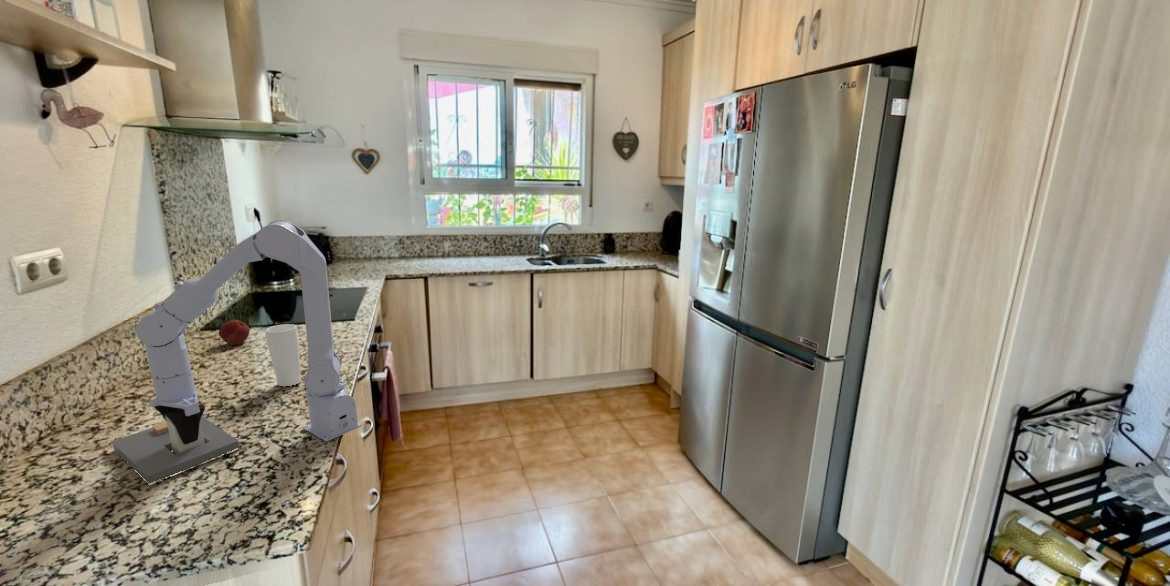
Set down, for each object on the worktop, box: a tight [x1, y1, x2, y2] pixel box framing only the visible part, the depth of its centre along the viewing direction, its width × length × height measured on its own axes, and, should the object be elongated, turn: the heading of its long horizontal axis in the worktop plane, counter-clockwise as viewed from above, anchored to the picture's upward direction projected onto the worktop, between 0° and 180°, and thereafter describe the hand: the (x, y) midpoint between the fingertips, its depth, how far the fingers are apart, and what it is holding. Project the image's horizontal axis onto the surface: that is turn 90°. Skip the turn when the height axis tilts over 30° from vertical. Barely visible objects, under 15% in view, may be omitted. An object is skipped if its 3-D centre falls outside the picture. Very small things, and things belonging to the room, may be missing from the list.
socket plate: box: [111, 415, 240, 483], centre depth 97 cm, size 20×14×3 cm
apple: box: [218, 319, 250, 346], centre depth 154 cm, size 7×8×8 cm
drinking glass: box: [265, 323, 302, 388], centre depth 125 cm, size 7×7×15 cm
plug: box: [165, 416, 205, 455], centre depth 95 cm, size 4×4×8 cm
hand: (186, 438), depth 96 cm, fingers closed on plug, 4 cm apart
